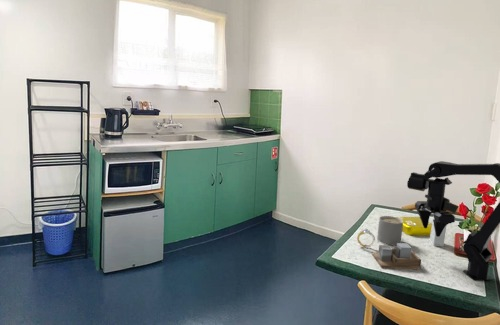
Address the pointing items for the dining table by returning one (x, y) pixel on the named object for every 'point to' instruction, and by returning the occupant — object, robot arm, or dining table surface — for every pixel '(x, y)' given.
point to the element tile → (415, 226)
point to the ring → (364, 233)
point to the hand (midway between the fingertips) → (431, 232)
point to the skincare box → (437, 240)
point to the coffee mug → (390, 230)
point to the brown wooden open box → (395, 259)
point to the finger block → (403, 250)
